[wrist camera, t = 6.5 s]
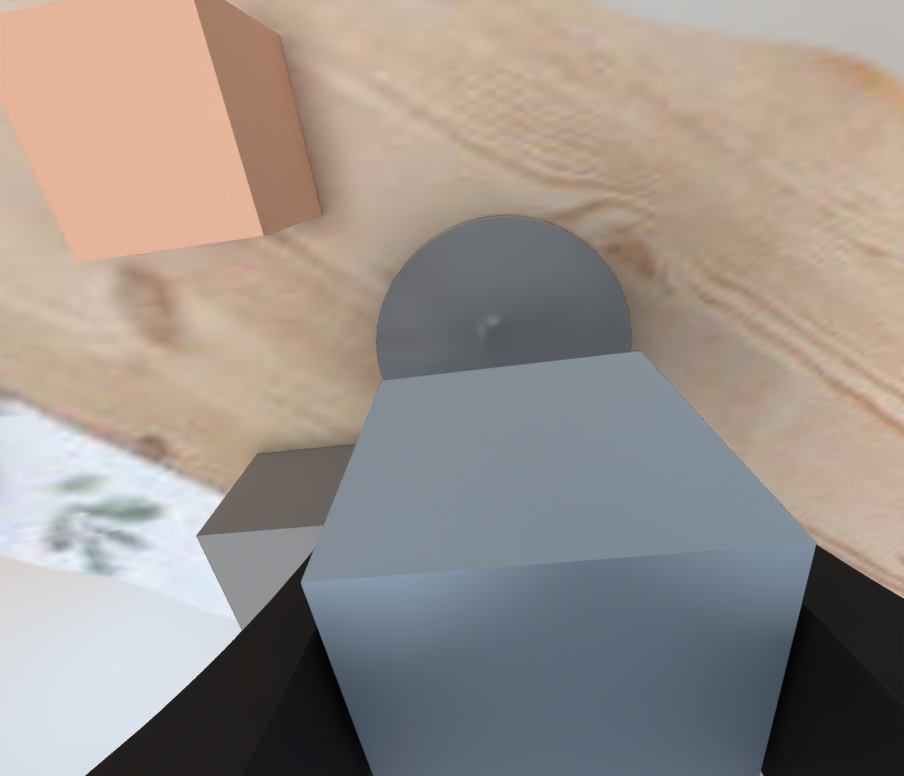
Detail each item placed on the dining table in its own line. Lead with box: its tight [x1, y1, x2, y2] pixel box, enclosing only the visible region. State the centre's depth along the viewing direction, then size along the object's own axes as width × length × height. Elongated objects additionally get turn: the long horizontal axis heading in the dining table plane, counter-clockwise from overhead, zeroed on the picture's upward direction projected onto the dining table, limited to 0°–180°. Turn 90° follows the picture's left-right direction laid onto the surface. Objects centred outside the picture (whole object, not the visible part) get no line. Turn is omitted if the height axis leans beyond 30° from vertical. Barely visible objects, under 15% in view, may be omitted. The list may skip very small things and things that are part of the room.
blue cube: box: [301, 351, 817, 776], centre depth 8 cm, size 5×5×5 cm
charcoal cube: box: [196, 444, 356, 630], centre depth 19 cm, size 5×5×5 cm
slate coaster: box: [376, 216, 631, 380], centre depth 17 cm, size 9×9×1 cm
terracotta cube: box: [0, 0, 322, 263], centre depth 13 cm, size 5×5×5 cm
